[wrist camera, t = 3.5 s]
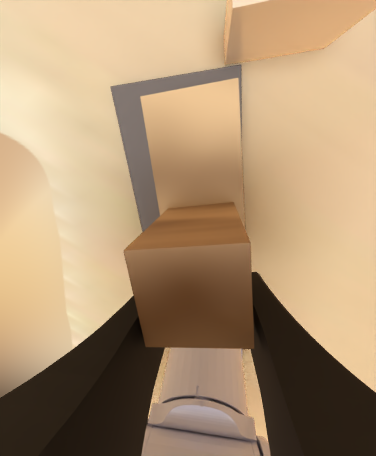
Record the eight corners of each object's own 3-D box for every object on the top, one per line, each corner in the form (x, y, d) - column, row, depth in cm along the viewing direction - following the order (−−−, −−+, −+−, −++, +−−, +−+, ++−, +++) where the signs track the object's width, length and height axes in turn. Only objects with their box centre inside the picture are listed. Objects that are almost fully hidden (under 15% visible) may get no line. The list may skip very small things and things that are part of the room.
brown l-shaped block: (244, 258, 12) (272, 357, 6) (173, 261, 13) (133, 353, 7) (236, 87, 10) (269, -46, 4) (148, 103, 11) (46, 16, 4)
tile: (324, 48, 13) (430, -34, 6) (225, 65, 14) (232, 8, 7) (328, 10, 12) (453, -125, 6) (223, 31, 13) (231, -65, 7)
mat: (241, 250, 19) (241, 252, 19) (149, 253, 21) (147, 255, 20) (240, 66, 13) (241, 64, 13) (112, 87, 15) (110, 86, 15)
